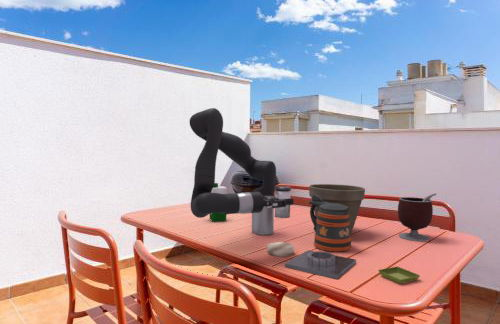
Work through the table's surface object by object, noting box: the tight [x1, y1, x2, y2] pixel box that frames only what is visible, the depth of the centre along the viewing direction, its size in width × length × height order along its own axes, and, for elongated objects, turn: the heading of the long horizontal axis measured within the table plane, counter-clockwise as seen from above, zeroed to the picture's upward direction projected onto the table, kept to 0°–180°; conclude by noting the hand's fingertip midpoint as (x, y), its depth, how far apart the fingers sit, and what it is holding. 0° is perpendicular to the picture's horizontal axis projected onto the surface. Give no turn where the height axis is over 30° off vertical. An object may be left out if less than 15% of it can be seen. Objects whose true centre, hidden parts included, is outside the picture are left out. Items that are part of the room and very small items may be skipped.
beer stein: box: [308, 194, 352, 253], centre depth 139 cm, size 19×15×20 cm
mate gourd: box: [397, 192, 437, 242], centre depth 153 cm, size 16×14×20 cm
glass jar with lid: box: [274, 185, 292, 219], centre depth 129 cm, size 6×6×11 cm
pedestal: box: [266, 241, 295, 258], centre depth 130 cm, size 10×10×2 cm
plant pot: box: [308, 183, 366, 236], centre depth 160 cm, size 25×25×22 cm
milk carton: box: [209, 182, 228, 223], centre depth 185 cm, size 9×9×20 cm
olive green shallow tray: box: [377, 266, 421, 285], centre depth 106 cm, size 9×9×2 cm
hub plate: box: [284, 249, 357, 280], centre depth 117 cm, size 18×18×3 cm
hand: (288, 200), depth 130 cm, fingers closed on glass jar with lid, 5 cm apart
